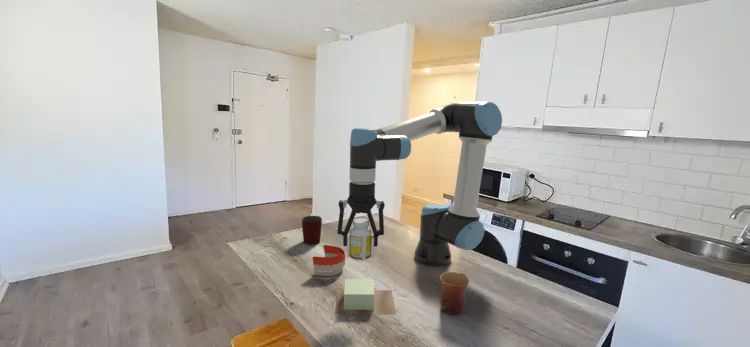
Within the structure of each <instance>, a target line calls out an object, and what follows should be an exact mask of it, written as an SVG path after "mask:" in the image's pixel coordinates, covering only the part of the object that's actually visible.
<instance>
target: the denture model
mask: <svg viewBox="0 0 750 347" xmlns="http://www.w3.org/2000/svg"><path fill="white" fill-rule="evenodd" d="M322 247H323V253H324V257H323V256H312V263H313V275H314V276H322V277H323V276H325V277H330V276H331V277H332V276H335V275H339V274H340V273H341V272H342V271H344V269H343V268H344V267H345V265H346V258H347V255H346V253H345V250H343V248H341V247H339V246H335V245H328V244H323V246H322Z"/></svg>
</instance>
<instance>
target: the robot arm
mask: <svg viewBox="0 0 750 347" xmlns="http://www.w3.org/2000/svg"><path fill="white" fill-rule="evenodd" d="M502 116H503V114H502V113H501V110H500V108H499V106H498V105H497V104H496V103H494V102H492V101H483V100H479V101H477V100H476V101H474V100H473V101H456V102H452V103H449V104H446V105H442V106H439V107H437V108H434V109H431V110H430V111H429V113H427V114H423V115H419V116H417V117H413V118H410V119H407V120H404V121H400V122H398V123H393V124H391V125H390V124H389V125H387V126H384V127H381V128H378V129H375V128H366V127H364V128H363V127H355V128H353V129H352V130H351V131H350V142H349V147H350V148H349V178H348V179H349V181H350V182H349V184H348V186H349V187H348V197H347V199H345V200H342V199H339V201H338V207H339V208H338V209H339V216H338V224H337V234H338V235H340V236H342V237H343V239H342V240H343V242H342V244H343V247H346V259H347V258H348V259H349V258H350V230H351V228H352V226H353V220H354V219H355V217H356V215H357V214H361V213H362V214H366V215H367V219H368V220H369V226H370V229H371V232H372V234H371V257H370V259H374V250H375V249H374V248H377V247H378V242H379V240H378V238H379V236H383V235H384V234H385V224H384V223H385V222H384V209H385V202H384V201H383V200H381V201H380V200H377V198H376V183H375V182H376V171H377V170H376V169H377V168H376V167H377V162H378V161H379V162H380V161H399V160H406V159H407V158H409V156H410V155H411V152H412V143H411V142H412V141H415V140H417V139H420V138H423V137H427V136H429V135H433V134H436V135H441V134H443V133H458V138H459V140H460V141H461V149H460V156H459V163H458V168H457V175H456V181H455V188H454V189H455V190H454V196H453V202H452V203H453V204H452V206H450V205H448V204H443V203H442V204H441V203H433V204H431V203H430V204H426V205H424V206H423V207H422V208H421V212H420V213H421V214H420V226H419V227H420V229H419V240H418V243H417V245H416V247H415V250H414V259H415V260H416V261H417V262H418V263H420V264H422V265H425V266H429V267H445V266H448V265H449V264H450V263H451V262H452V253H451V250H450V245H452V246H453V247H456V248H457V249H461V250H464V251H470V250H473V249H475V248H476V247H478V246H479V244H480V243H481V242H482V240H483V238H484V235H485V226H484V224H483V223H482V221H480V219H481V218H480V216H481V215H480V213H479V211H478V208H477V207H478V204H479V203H478V202H479V194H480V190H481V189H480V188H481V183H482V176H483V170H484V163H485V158H486V151H487V146H488V145H489V144H490V143H491V142H492V141H493V136H494V137H495V135H498V133H499V131H500V130H501V129H502V125H503V117H502ZM347 205H348V206H349V207H350V208H351V212H350V214H349V217H348V218H347V219H348V220H347V222H346V224H345V228H344V229H343V223H344V213H345V208H347ZM375 205H376V208H377V209H378V226H379V229H377V226H376V222H375V220H374V217H373V214H372V209H373V208H374V206H375ZM449 244H450V245H449Z"/></svg>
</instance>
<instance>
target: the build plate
mask: <svg viewBox="0 0 750 347" xmlns="http://www.w3.org/2000/svg"><path fill="white" fill-rule="evenodd" d="M334 310H335V311H334V314H335V315H374V314H375V315H396V314H397V311H396V306H395V300H394V294H393V290H388V289H387V290H386V289H385V290H382V289H381V290H379V289H377V290H376V289H374V310H344V289H337V291H336V300H335V309H334Z"/></svg>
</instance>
